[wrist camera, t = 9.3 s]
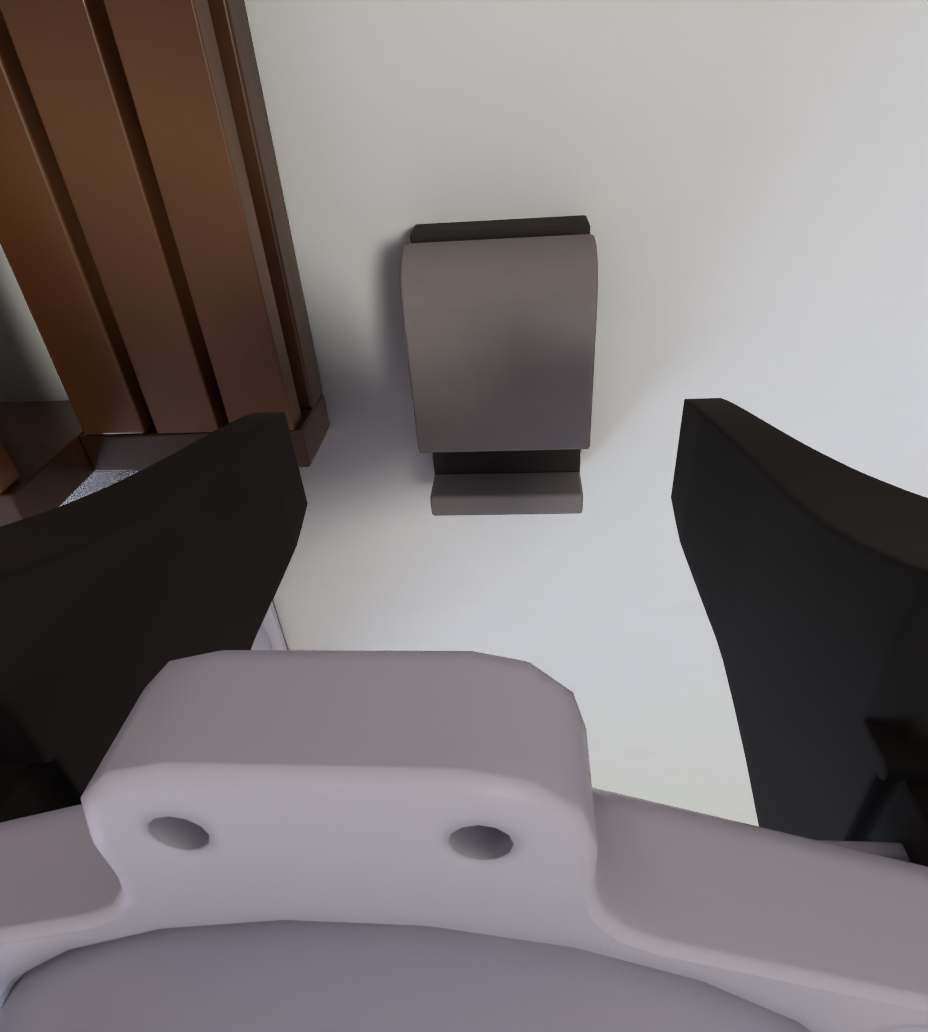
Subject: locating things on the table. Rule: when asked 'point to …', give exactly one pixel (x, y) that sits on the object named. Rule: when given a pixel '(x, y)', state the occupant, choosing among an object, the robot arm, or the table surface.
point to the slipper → (502, 360)
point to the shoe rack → (144, 240)
